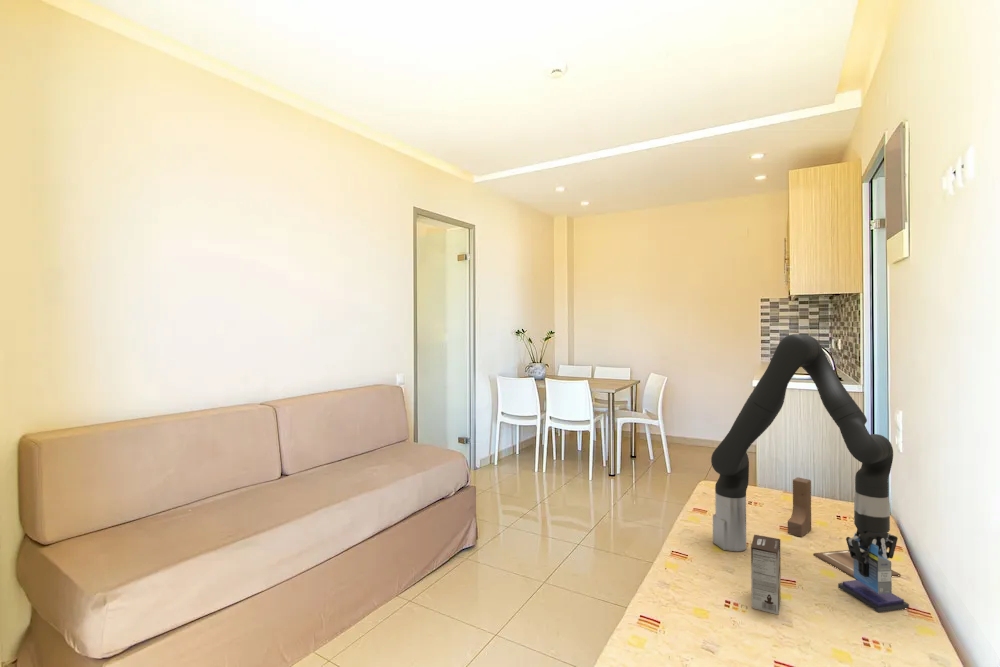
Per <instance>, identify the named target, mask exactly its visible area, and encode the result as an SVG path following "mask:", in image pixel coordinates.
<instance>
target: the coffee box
mask: <svg viewBox="0 0 1000 667" xmlns="http://www.w3.org/2000/svg"><path fill="white" fill-rule="evenodd" d="M750 556H751V557H750V564H751V566H750V567H751V570H750V572H751V573H750V575H751V577H750V578H751V582H750V583H751V587H750V588H751V608H752V609H756V610H758V611H763V612H766V613H771V614H774V615H777V616H779V614H780V607H781V599H782V597H781V595H782V593H781V589H782V588H781V586H782V585H781V583H782V582H781V580H782V579H781V578H782V576H781V574H782V573H781V539H780V538H777V537H771V536H765V535H759V534H754V535H753V538H752V543H751V546H750Z"/></svg>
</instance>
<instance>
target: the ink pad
mask: <svg viewBox="0 0 1000 667" xmlns="http://www.w3.org/2000/svg"><path fill="white" fill-rule="evenodd" d="M837 588H838V589H839V588H840V590H841V591H843V592H844V593H846V594H848V595H849V596H851V597H852V598H854V599H856V600H857V601H859V602H861V603H862V604H864V605H865V606H867V607H869V608H870V609H872V610H874V611H875V612H877V613H879V614H880V613H886V612H887V613H888V612H893V611H903V610H906V609H905V608H910V604H909V603H907V602H906V601H905V600H904V599H903V598H901V597H899V596H898V595H895V594H894V593H893V592H892V593H889V594H878V593H877V592H875V591H874V590H873V589H871V588H870V587H868V586H867V585H865V584H864V583H862V582H861V581H859V580H856V579H852V580H845V581H842V582H839V583H838V584H837ZM902 609H903V610H902Z"/></svg>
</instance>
